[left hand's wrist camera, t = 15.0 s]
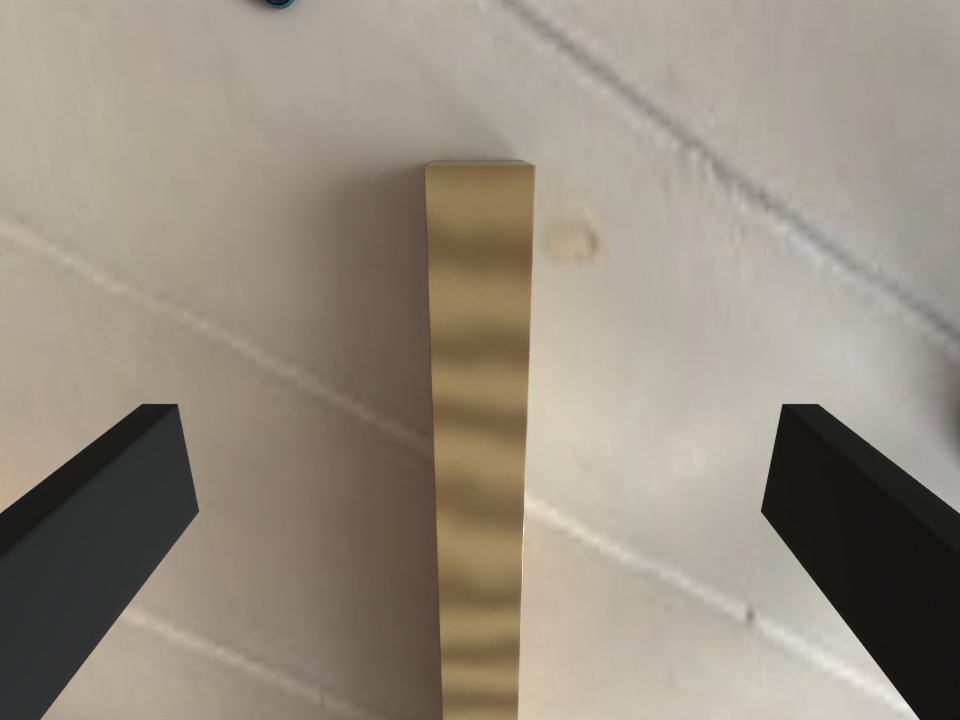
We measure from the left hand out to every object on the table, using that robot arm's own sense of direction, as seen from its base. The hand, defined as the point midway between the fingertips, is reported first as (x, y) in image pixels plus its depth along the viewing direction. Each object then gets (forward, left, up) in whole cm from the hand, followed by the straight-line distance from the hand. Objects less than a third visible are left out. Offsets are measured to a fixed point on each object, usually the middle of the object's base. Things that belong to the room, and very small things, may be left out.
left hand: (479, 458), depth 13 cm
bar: (-3, +26, -28) cm, 38 cm away
